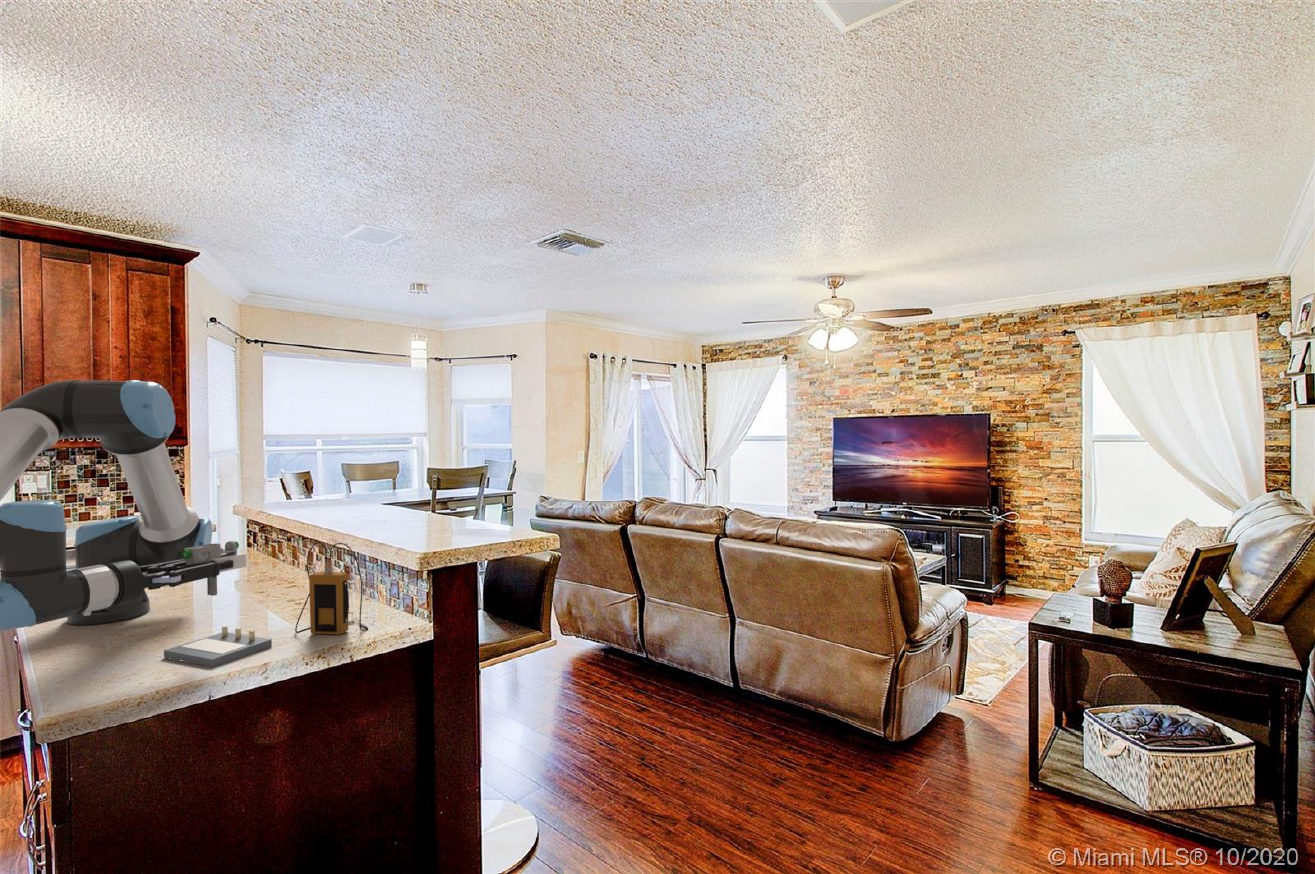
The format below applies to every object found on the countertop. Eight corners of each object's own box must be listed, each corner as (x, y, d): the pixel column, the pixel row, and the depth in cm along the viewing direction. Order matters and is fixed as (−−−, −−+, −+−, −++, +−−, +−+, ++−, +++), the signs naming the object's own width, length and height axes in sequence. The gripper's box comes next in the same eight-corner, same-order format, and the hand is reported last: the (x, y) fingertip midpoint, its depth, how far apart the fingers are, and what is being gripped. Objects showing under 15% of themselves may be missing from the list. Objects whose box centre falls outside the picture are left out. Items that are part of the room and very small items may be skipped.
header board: (163, 657, 126) (163, 640, 126) (224, 638, 137) (224, 622, 137) (212, 667, 121) (212, 648, 121) (271, 646, 132) (271, 629, 132)
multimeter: (382, 621, 148) (380, 535, 148) (357, 636, 138) (356, 543, 138) (321, 620, 150) (320, 534, 149) (293, 634, 140) (291, 542, 139)
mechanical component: (242, 589, 132) (241, 540, 132) (191, 602, 122) (190, 549, 122) (231, 588, 133) (230, 539, 133) (180, 600, 123) (179, 548, 123)
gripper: (78, 603, 114) (212, 574, 136) (136, 612, 108) (266, 580, 130) (77, 561, 114) (212, 538, 136) (135, 567, 108) (266, 543, 130)
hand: (238, 559), depth 133 cm, fingers closed on mechanical component, 3 cm apart
